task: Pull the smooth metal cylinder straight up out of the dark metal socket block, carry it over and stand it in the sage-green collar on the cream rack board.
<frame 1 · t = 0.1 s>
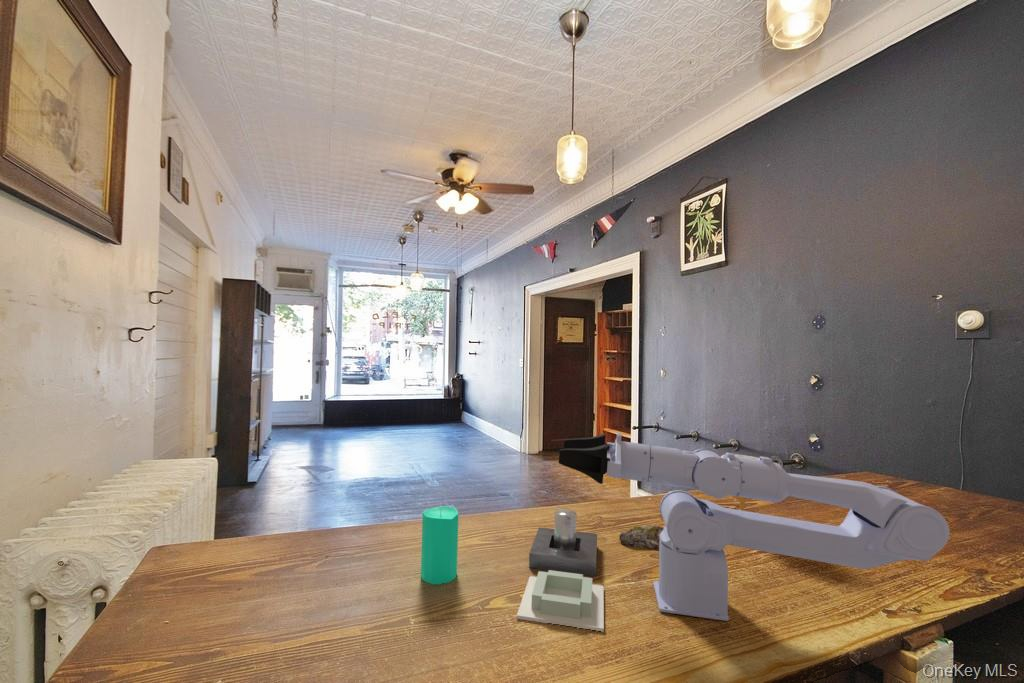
hand: (561, 450, 70), 22 cm above the table, tool horizontal, fingers open, 7 cm apart
smooth metal cylinder: (565, 534, 80), in the socket block
mineral rock: (643, 543, 87), on the table
socket block: (564, 556, 80), on the table
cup: (741, 535, 92), on the table
candle: (439, 576, 72), on the table
rack: (562, 602, 65), on the table
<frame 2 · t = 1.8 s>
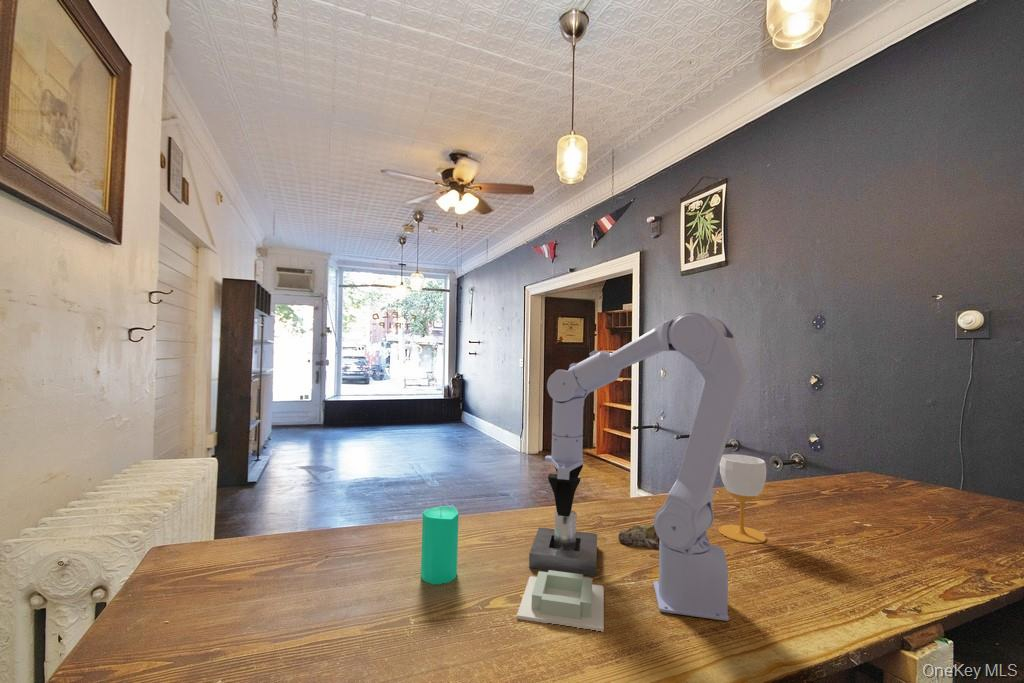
hand: (565, 507, 80), 9 cm above the table, tool pointing down, fingers open, 7 cm apart
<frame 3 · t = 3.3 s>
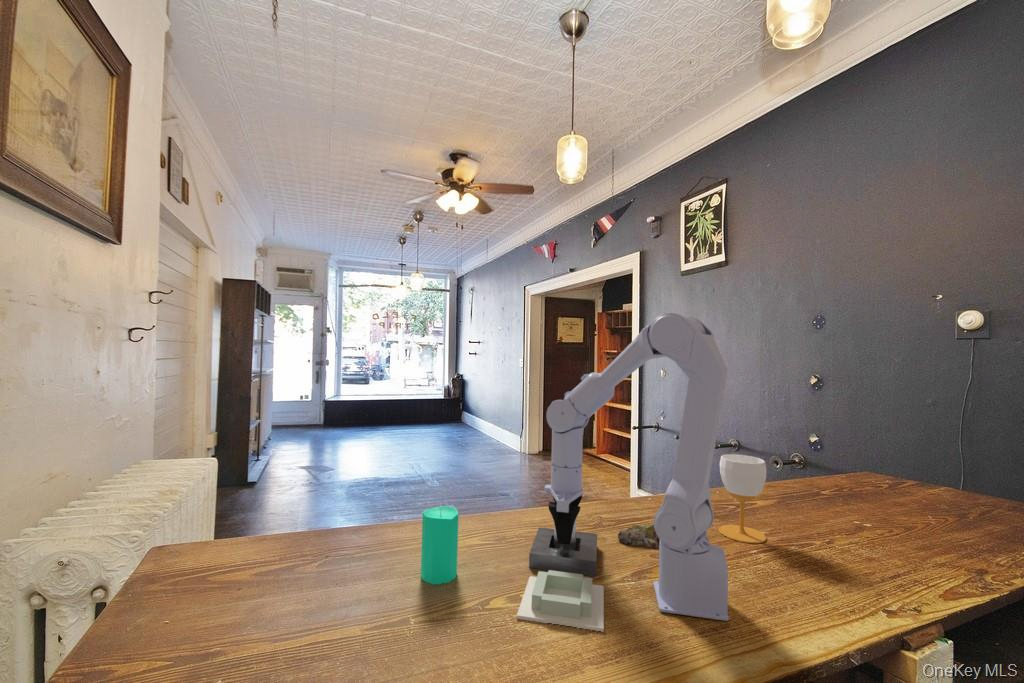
hand: (565, 537, 80), 3 cm above the table, tool pointing down, fingers closed on smooth metal cylinder, 4 cm apart
smooth metal cylinder: (565, 534, 80), in the socket block, touching gripper
everything else where it was.
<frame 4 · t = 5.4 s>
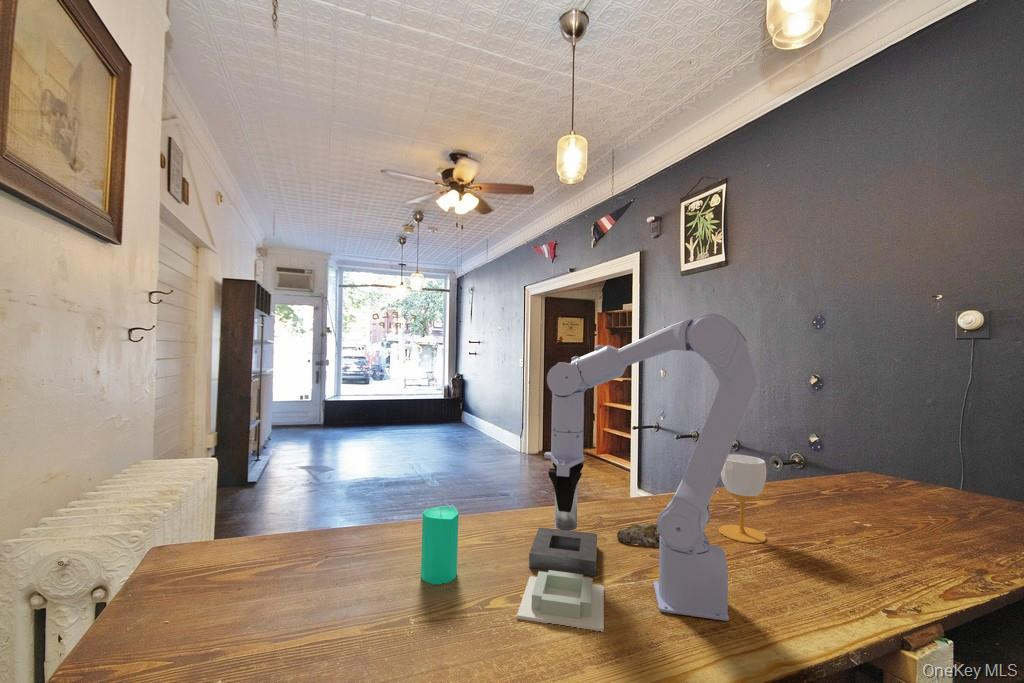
hand: (566, 506, 77), 10 cm above the table, tool pointing down, fingers closed on smooth metal cylinder, 4 cm apart
smooth metal cylinder: (566, 503, 77), point 11 cm above the table, touching gripper
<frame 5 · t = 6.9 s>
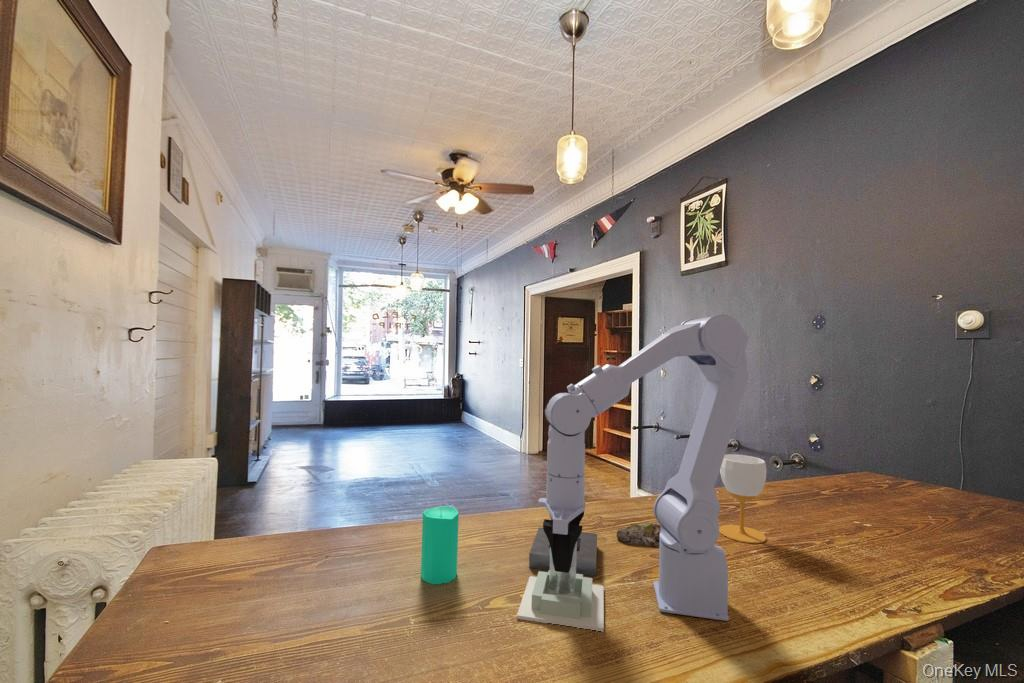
hand: (563, 563, 65), 6 cm above the table, tool pointing down, fingers closed on smooth metal cylinder, 4 cm apart
smooth metal cylinder: (563, 559, 65), point 6 cm above the table, touching gripper
when the fingers open (5 cm above the table, at t = 7.9 s): smooth metal cylinder stays where it is, resting on rack.
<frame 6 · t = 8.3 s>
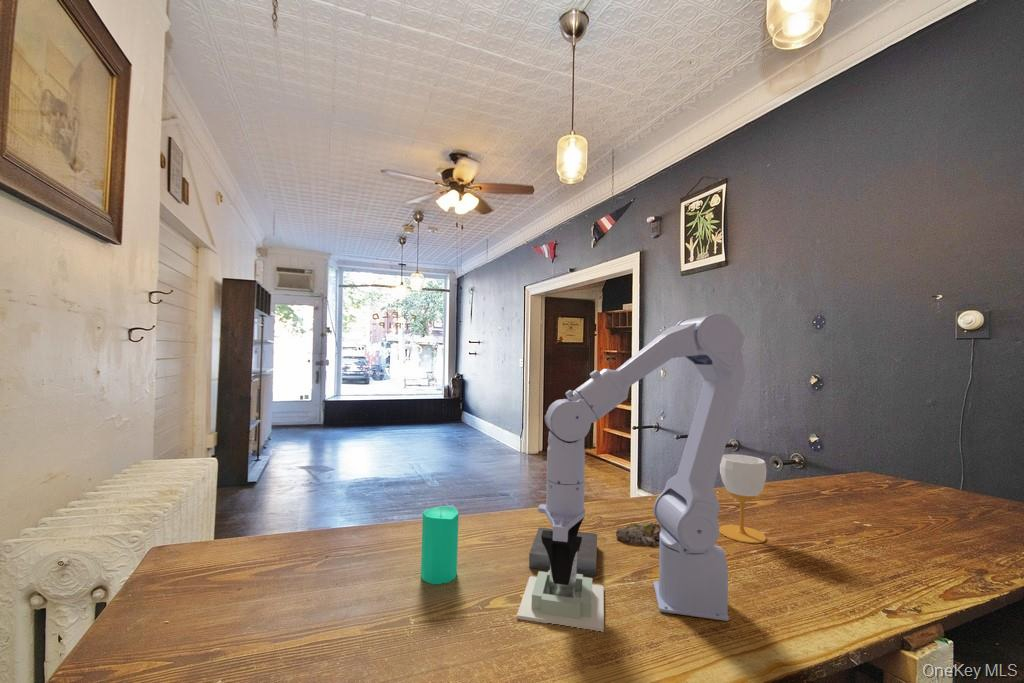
hand: (563, 569, 65), 5 cm above the table, tool pointing down, fingers open, 7 cm apart
smooth metal cylinder: (563, 572, 65), in the rack
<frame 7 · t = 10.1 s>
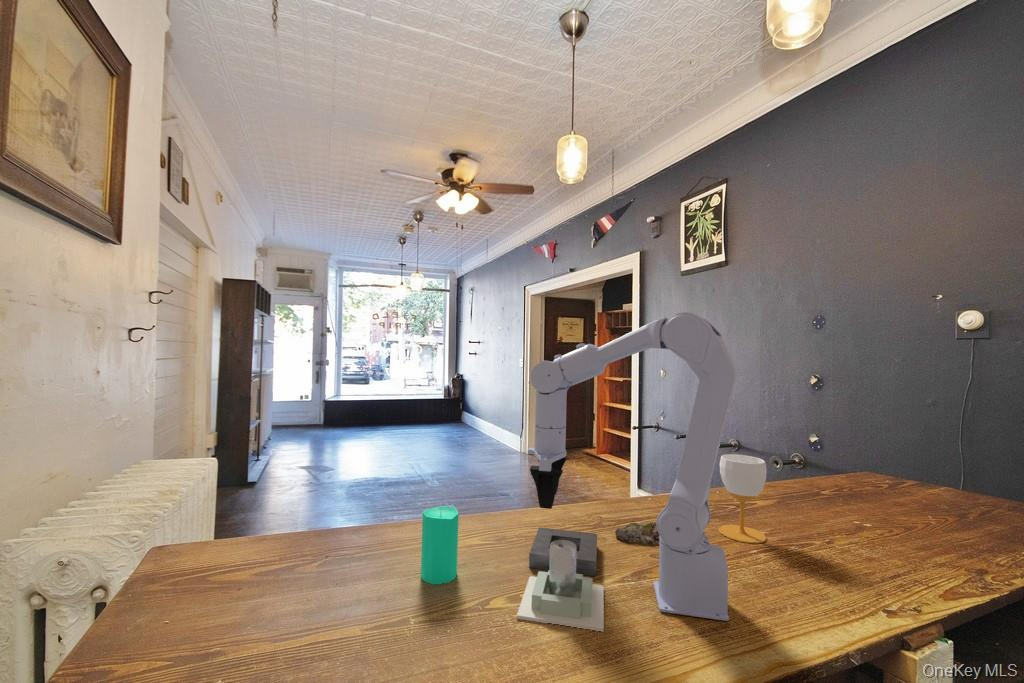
hand: (548, 500, 79), 11 cm above the table, tool pointing down, fingers open, 7 cm apart
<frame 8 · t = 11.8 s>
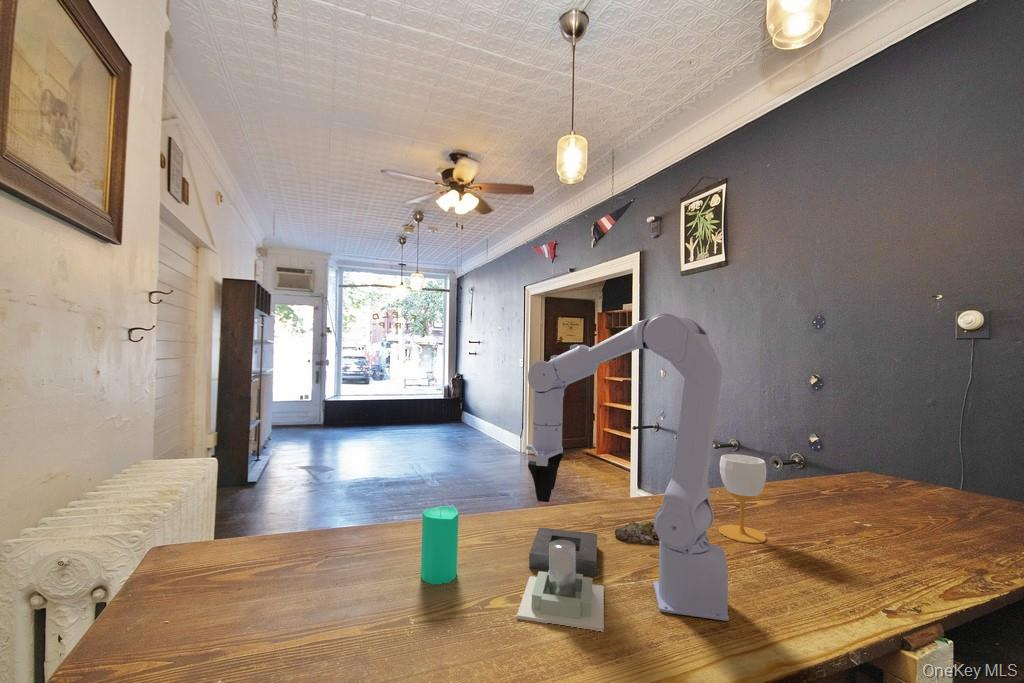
hand: (546, 494, 83), 10 cm above the table, tool pointing down, fingers open, 7 cm apart
at the end: smooth metal cylinder 0.1 cm off-centre on the rack, point 4.5 cm above the rack's base; smooth metal cylinder tilted 1°; the gripper is holding nothing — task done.
